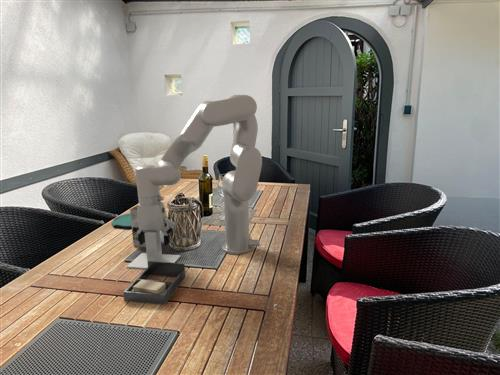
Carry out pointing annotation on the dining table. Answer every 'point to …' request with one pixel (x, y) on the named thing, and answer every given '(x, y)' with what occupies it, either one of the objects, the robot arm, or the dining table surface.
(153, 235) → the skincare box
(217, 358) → the dining table surface
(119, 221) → the green flat slab
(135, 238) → the coffee box
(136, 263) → the board
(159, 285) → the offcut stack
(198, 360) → the dining table surface
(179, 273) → the tray
